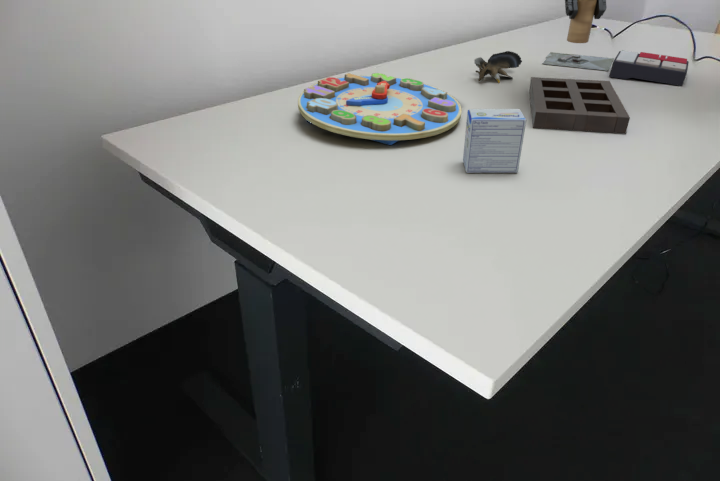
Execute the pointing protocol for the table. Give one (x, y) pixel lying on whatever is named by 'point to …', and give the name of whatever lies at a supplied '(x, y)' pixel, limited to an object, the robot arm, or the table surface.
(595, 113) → the brown grid tray
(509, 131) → the medicine box
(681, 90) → the table surface
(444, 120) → the shape sorting clock
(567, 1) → the robot arm
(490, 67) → the squirrel figurine
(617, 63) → the dual switch box
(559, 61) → the grey fossil slab
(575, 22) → the peg
